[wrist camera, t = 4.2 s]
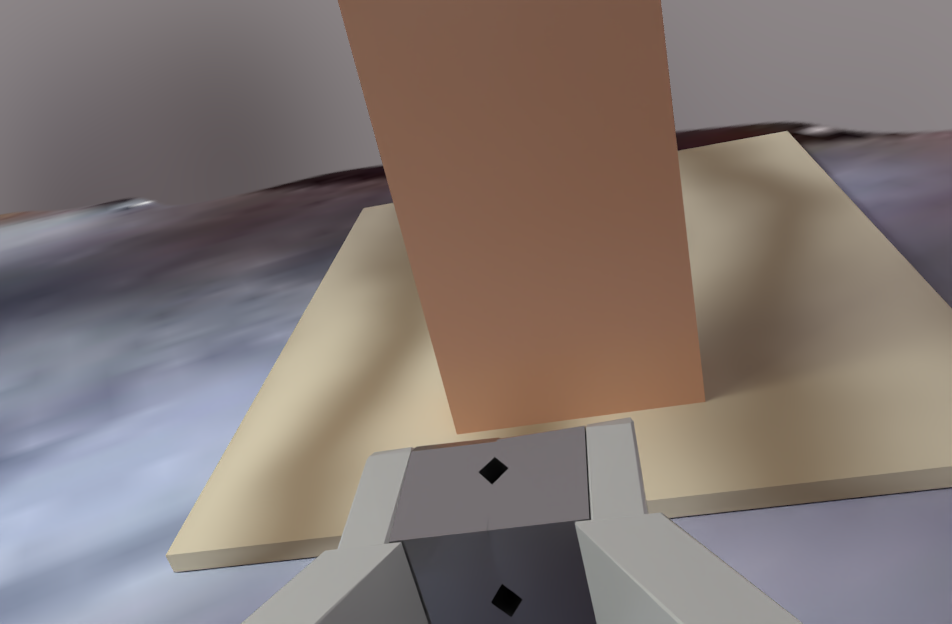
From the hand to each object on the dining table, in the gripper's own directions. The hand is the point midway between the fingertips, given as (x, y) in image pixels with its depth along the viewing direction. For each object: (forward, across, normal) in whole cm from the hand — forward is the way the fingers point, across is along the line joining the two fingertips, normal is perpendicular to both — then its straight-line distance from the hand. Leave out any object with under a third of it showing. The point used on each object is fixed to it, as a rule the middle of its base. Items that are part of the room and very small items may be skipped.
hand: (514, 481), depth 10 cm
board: (+21, 0, +8) cm, 23 cm away
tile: (+13, 0, +7) cm, 15 cm away
